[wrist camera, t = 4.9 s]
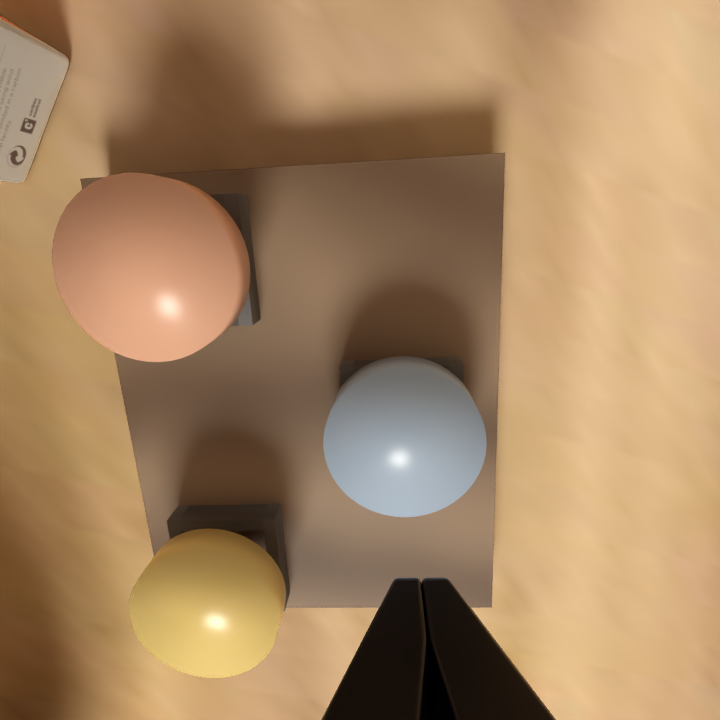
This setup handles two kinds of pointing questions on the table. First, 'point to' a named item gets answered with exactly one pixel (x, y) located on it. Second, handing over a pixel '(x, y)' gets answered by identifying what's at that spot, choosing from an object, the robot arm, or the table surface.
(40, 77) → the skincare box
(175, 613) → the ochre button
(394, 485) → the slate-blue button
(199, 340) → the terracotta button
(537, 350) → the table surface
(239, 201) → the board
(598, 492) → the table surface
